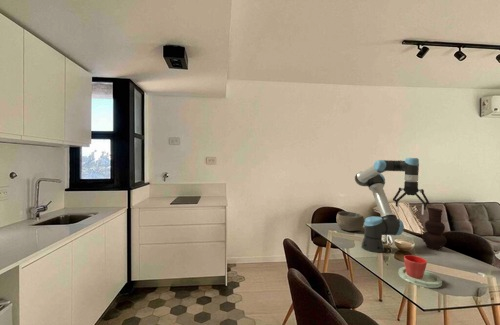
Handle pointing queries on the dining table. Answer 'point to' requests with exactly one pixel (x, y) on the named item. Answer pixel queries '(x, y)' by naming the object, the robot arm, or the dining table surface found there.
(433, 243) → the vase
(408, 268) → the flower pot
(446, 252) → the dining table surface
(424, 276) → the round tray
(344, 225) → the bowl
